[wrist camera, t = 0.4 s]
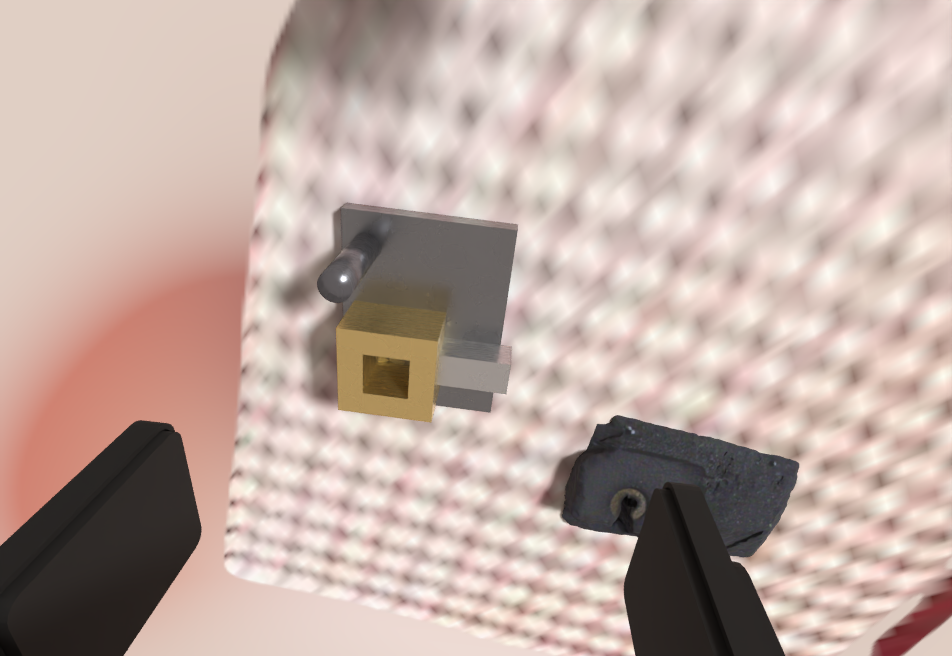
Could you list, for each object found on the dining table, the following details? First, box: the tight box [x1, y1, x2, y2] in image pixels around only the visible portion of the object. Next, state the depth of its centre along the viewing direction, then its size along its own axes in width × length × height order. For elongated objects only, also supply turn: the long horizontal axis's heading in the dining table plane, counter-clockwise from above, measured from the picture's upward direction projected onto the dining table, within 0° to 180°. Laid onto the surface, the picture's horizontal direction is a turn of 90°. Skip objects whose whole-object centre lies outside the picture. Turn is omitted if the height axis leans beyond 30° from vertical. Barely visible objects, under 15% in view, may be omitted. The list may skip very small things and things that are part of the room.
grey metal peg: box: [317, 233, 380, 303], centre depth 39 cm, size 2×2×8 cm
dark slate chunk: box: [562, 415, 799, 557], centre depth 53 cm, size 15×22×5 cm
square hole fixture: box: [336, 203, 518, 422], centre depth 44 cm, size 18×15×6 cm
